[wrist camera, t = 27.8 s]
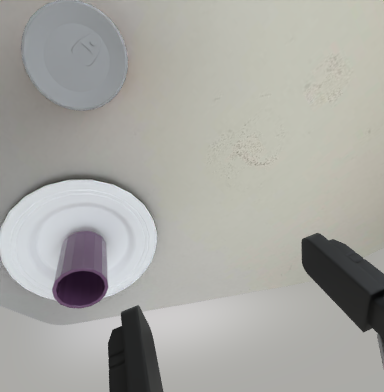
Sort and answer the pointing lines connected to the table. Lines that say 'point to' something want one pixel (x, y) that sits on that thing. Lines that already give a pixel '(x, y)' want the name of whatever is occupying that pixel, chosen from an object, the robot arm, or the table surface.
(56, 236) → the plate
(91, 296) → the cup
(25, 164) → the table surface
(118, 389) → the robot arm
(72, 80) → the canned food
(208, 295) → the table surface
